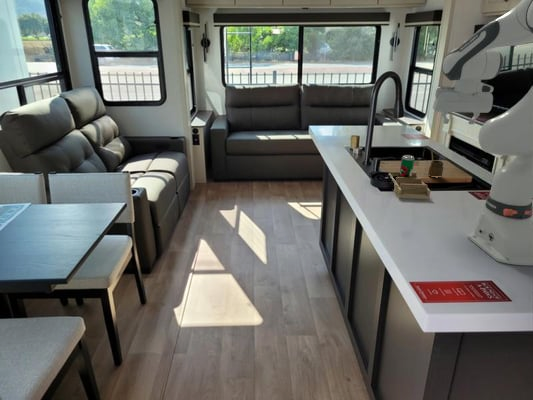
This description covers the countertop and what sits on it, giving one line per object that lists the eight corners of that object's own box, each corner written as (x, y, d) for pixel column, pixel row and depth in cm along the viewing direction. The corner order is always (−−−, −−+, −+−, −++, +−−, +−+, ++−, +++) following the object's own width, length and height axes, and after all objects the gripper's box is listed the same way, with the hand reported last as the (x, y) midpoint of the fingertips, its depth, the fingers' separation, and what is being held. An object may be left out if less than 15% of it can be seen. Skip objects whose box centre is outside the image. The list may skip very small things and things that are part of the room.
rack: (428, 199, 153) (431, 187, 151) (398, 198, 154) (400, 186, 152) (414, 181, 172) (416, 170, 170) (387, 180, 172) (389, 169, 170)
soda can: (410, 185, 163) (415, 158, 159) (398, 184, 165) (402, 157, 160) (410, 181, 168) (414, 155, 163) (398, 180, 169) (402, 154, 165)
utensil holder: (442, 179, 175) (448, 153, 170) (428, 178, 176) (432, 152, 171) (440, 174, 180) (445, 150, 176) (426, 173, 181) (430, 149, 177)
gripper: (439, 86, 139) (433, 124, 145) (498, 87, 138) (489, 126, 143) (434, 84, 145) (427, 121, 150) (490, 85, 144) (481, 122, 149)
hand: (458, 123), depth 147 cm, fingers open, 8 cm apart
